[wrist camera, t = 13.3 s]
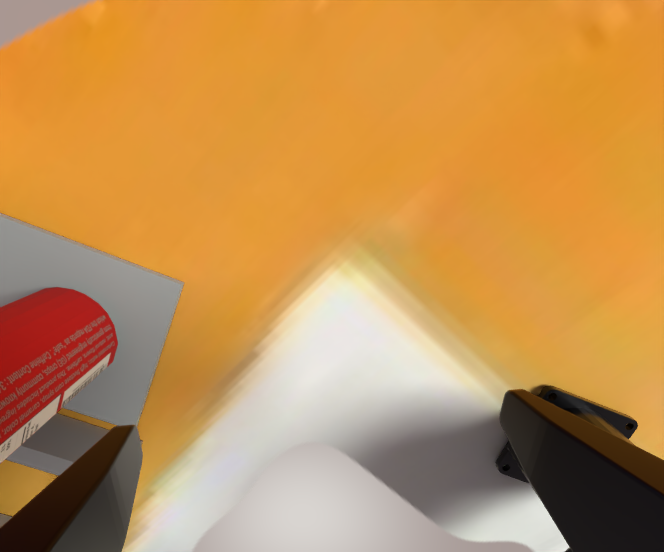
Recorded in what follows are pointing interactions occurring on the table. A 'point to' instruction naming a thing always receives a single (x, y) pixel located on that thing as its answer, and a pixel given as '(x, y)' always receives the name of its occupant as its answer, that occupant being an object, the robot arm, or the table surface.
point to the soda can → (48, 358)
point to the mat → (112, 294)
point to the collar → (56, 446)
